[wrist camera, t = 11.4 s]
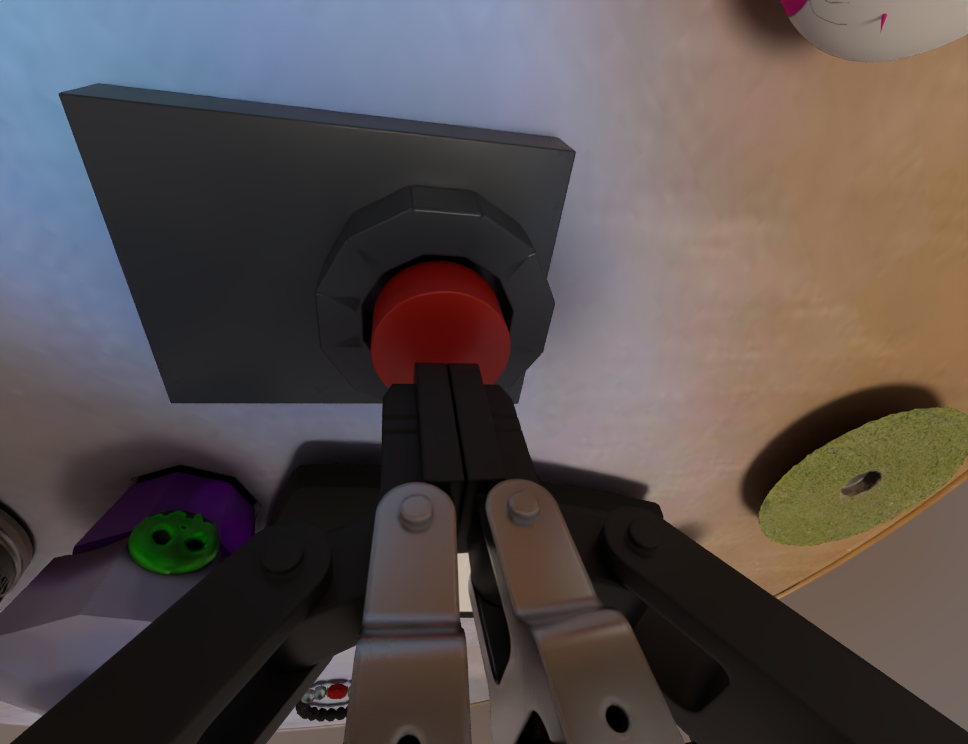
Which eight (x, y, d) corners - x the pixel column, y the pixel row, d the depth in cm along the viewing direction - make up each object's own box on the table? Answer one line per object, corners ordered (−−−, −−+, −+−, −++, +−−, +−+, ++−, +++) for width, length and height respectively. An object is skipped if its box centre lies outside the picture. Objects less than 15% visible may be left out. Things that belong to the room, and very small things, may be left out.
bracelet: (378, 679, 35) (378, 694, 35) (366, 707, 38) (365, 722, 38) (300, 682, 34) (297, 698, 33) (293, 711, 37) (291, 726, 36)
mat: (708, 524, 29) (726, 552, 27) (805, 382, 22) (835, 410, 20) (860, 514, 31) (884, 541, 29) (990, 382, 24) (1030, 407, 23)
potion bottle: (286, 440, 19) (183, 840, 10) (301, 555, 24) (242, 892, 15) (44, 439, 18) (-359, 926, 8) (114, 563, 23) (-85, 952, 13)
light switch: (250, 635, 25) (264, 492, 16) (262, 581, 27) (281, 429, 19) (570, 636, 31) (701, 533, 23) (560, 592, 33) (676, 482, 25)
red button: (374, 367, 14) (371, 406, 13) (372, 255, 12) (369, 287, 11) (490, 369, 15) (499, 406, 13) (508, 263, 13) (521, 294, 11)
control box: (188, 372, 17) (147, 443, 14) (96, 83, 11) (1, 106, 9) (510, 376, 19) (528, 437, 16) (559, 137, 14) (599, 169, 11)
